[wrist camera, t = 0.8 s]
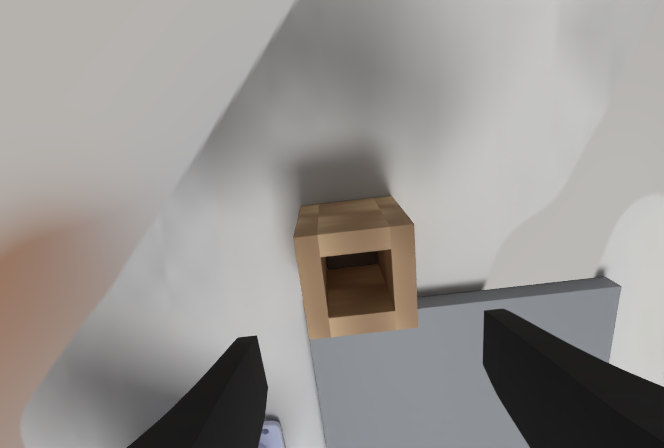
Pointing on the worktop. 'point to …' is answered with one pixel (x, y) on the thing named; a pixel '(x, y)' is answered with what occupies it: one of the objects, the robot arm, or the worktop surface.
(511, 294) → the grey flat block
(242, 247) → the worktop surface
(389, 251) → the oak bead
